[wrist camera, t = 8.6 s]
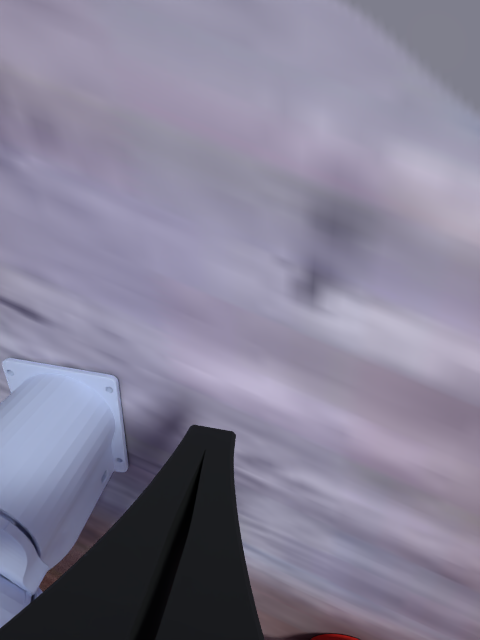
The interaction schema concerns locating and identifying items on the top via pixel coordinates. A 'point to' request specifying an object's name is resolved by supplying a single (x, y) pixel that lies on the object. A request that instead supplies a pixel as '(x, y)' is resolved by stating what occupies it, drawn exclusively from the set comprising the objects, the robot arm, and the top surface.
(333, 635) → the ceramic cup
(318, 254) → the top surface
